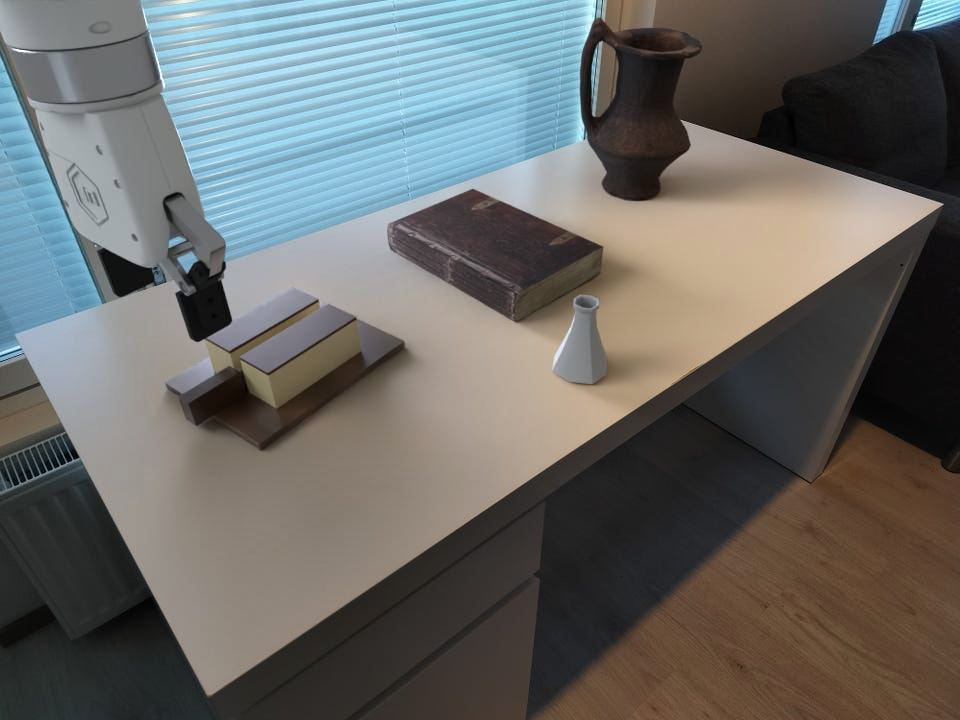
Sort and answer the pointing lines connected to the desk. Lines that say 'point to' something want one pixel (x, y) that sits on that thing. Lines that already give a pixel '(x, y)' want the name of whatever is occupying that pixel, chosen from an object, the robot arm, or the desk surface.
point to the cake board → (269, 423)
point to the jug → (637, 107)
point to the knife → (213, 395)
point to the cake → (285, 345)
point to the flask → (582, 346)
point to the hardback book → (496, 252)
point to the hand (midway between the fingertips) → (172, 309)
